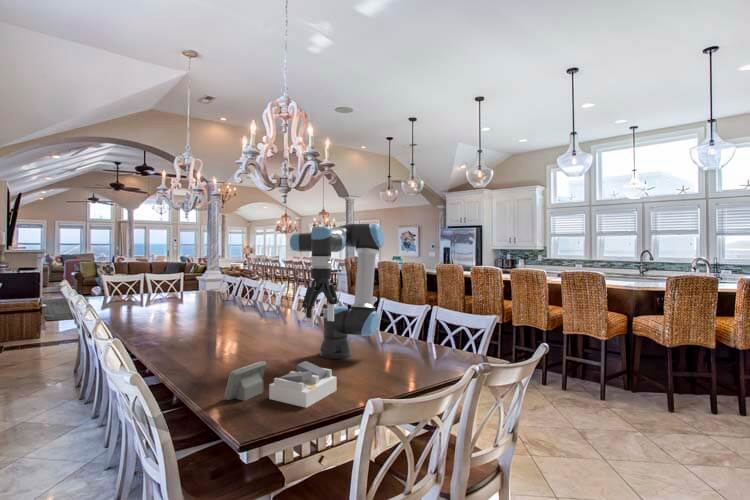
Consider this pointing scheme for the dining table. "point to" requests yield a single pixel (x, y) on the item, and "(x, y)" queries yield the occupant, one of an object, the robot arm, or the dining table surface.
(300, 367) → the rocker
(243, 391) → the digital clock
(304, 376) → the rocker
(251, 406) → the dining table surface
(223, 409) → the dining table surface
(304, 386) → the switch unit
